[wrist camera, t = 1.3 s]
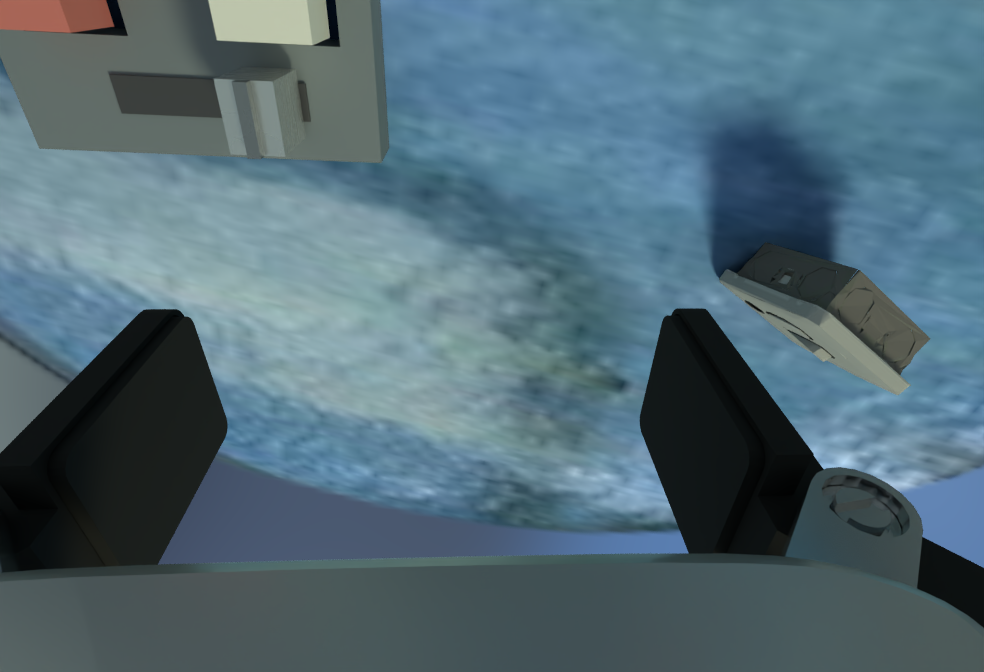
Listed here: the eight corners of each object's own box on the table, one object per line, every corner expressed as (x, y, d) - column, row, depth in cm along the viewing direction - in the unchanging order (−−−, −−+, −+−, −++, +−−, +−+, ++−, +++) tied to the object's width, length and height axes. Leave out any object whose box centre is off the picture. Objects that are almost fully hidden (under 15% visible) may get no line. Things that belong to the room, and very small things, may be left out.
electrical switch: (711, 275, 37) (786, 344, 29) (770, 215, 35) (868, 271, 27) (791, 340, 40) (878, 418, 32) (848, 289, 38) (956, 358, 30)
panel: (-21, -115, 24) (-81, -126, 22) (374, -90, 25) (362, -97, 22) (75, 134, 30) (37, 149, 28) (389, 148, 31) (380, 163, 29)
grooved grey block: (243, 66, 26) (208, 80, 22) (295, 69, 26) (268, 83, 22) (256, 135, 27) (226, 157, 24) (305, 137, 27) (282, 159, 24)
